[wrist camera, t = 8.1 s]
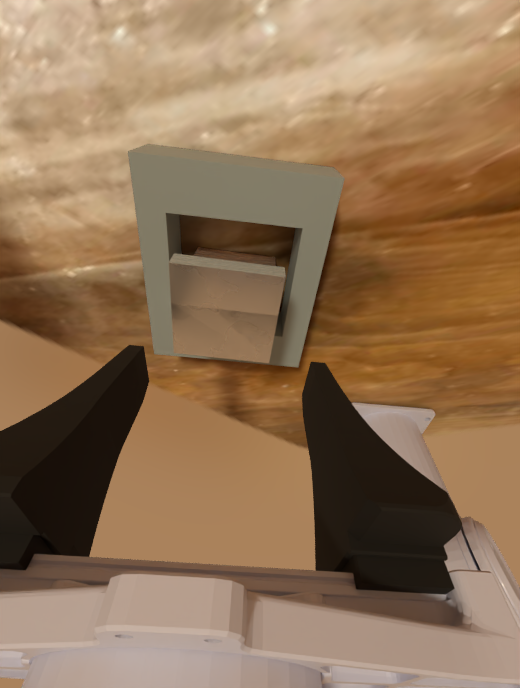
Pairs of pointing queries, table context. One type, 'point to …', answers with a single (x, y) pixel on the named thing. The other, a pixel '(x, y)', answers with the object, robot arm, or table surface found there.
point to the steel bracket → (225, 304)
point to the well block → (238, 205)
